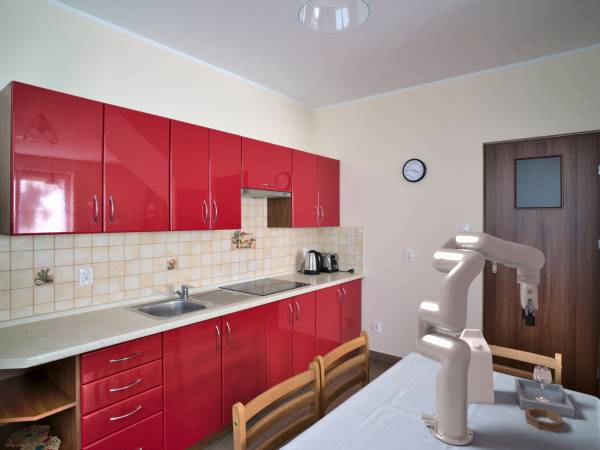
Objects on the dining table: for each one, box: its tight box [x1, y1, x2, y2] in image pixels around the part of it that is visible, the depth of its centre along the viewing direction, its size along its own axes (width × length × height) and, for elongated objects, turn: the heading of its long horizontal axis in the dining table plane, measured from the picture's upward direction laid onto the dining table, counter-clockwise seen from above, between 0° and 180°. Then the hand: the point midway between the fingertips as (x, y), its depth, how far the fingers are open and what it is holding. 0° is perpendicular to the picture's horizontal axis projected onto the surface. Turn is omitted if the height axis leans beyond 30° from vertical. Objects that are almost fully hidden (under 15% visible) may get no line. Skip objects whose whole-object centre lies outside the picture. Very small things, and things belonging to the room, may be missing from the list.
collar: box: [524, 407, 565, 433], centre depth 124 cm, size 10×10×2 cm
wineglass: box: [532, 365, 553, 403], centre depth 137 cm, size 6×6×12 cm
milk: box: [459, 328, 495, 405], centre depth 143 cm, size 12×12×26 cm
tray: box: [514, 377, 575, 420], centre depth 138 cm, size 16×20×4 cm
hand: (528, 322), depth 144 cm, fingers open, 9 cm apart
